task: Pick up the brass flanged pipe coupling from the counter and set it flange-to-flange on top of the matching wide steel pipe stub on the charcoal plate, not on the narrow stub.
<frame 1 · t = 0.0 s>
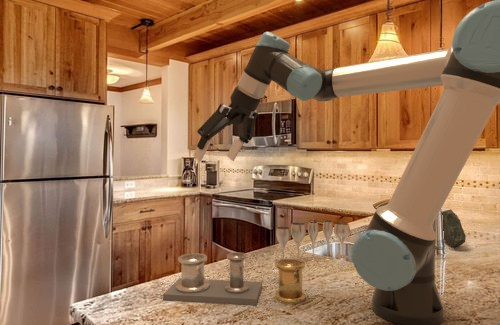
hand: (214, 158, 100), 36 cm above the countertop, tool tilted 35°, fingers open, 13 cm apart
brass coupling: (290, 297, 91), on the countertop
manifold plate: (214, 293, 94), on the countertop
narrow pipe stub: (236, 288, 93), resting on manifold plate
goblet set: (314, 260, 124), on the countertop
rock: (449, 246, 141), on the countertop
wide pipe stub: (193, 286, 95), resting on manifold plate
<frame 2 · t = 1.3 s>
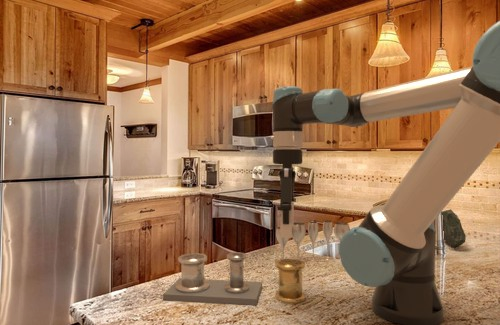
hand: (287, 231, 91), 17 cm above the countertop, tool pointing down, fingers open, 13 cm apart
nothing on the countertop moved.
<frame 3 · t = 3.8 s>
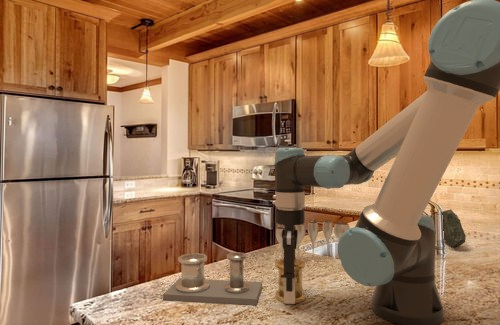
hand: (290, 296, 91), 0 cm above the countertop, tool pointing down, fingers closed on brass coupling, 8 cm apart
brass coupling: (290, 297, 91), on the countertop, touching gripper
everything else where it was.
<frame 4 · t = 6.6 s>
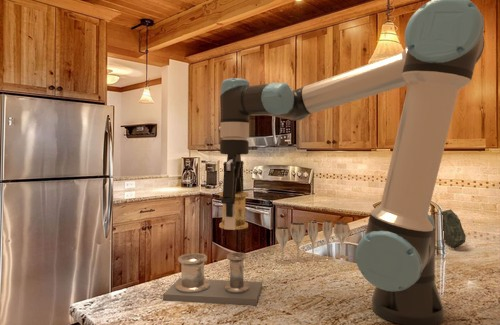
hand: (233, 225, 93), 18 cm above the countertop, tool pointing down, fingers closed on brass coupling, 8 cm apart
brass coupling: (233, 226, 93), point 18 cm above the countertop, touching gripper
everything else where it was.
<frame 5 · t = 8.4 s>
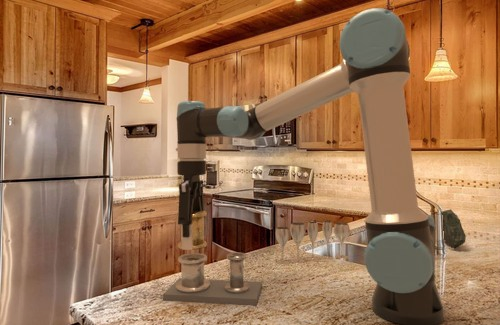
hand: (192, 245, 95), 13 cm above the countertop, tool pointing down, fingers closed on brass coupling, 8 cm apart
brass coupling: (192, 245, 95), point 12 cm above the countertop, touching gripper
everything else where it was.
when the fingers open (11 cm above the countertop, at t = 9.6 s): brass coupling drops 1 cm, resting on wide pipe stub.
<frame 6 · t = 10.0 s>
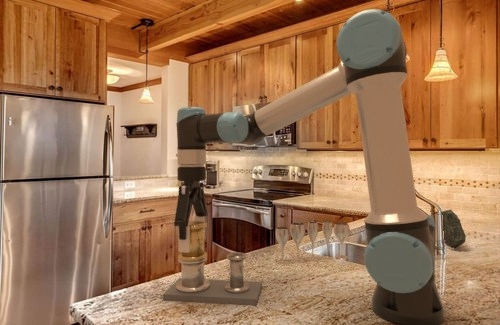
hand: (192, 245, 95), 13 cm above the countertop, tool pointing down, fingers open, 13 cm apart
brass coupling: (192, 257, 95), point 10 cm above the countertop, touching wide pipe stub
everything else where it was.
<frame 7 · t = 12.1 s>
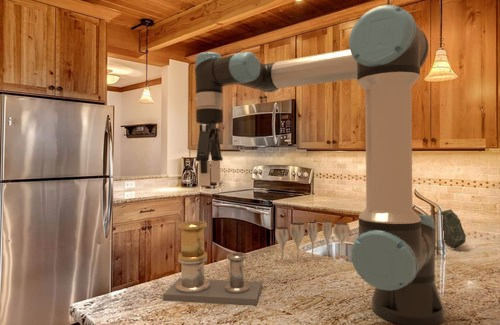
hand: (210, 184, 100), 29 cm above the countertop, tool pointing down, fingers open, 13 cm apart
nothing on the countertop moved.
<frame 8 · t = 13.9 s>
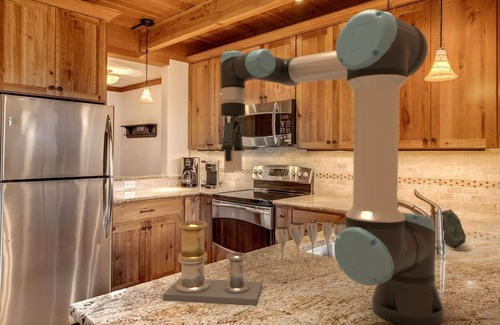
hand: (233, 171, 110), 32 cm above the countertop, tool pointing down, fingers open, 13 cm apart
nothing on the countertop moved.
at the end: brass coupling 0.2 cm off-centre on the wide pipe stub, point 8.1 cm above the wide pipe stub's base; brass coupling tilted 1°; the gripper is holding nothing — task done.
